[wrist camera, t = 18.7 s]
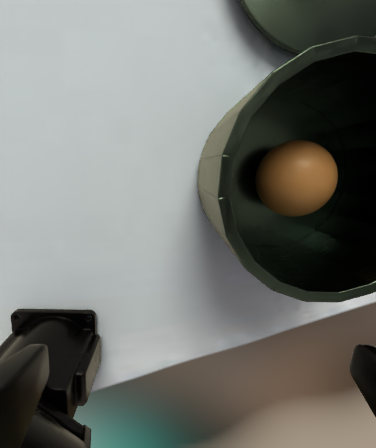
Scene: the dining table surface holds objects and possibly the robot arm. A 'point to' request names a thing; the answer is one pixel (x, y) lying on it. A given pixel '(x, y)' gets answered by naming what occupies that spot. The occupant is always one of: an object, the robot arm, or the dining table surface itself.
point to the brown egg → (296, 178)
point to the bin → (310, 131)
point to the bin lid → (311, 20)
